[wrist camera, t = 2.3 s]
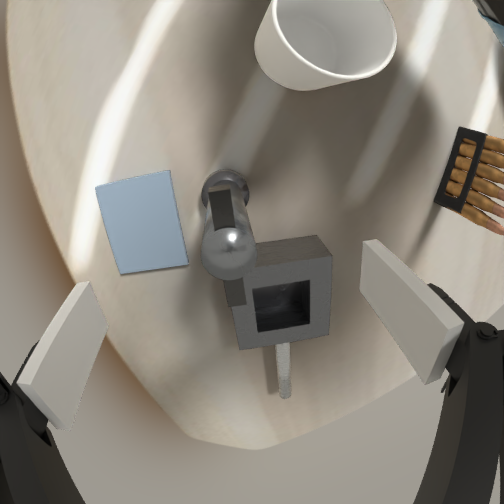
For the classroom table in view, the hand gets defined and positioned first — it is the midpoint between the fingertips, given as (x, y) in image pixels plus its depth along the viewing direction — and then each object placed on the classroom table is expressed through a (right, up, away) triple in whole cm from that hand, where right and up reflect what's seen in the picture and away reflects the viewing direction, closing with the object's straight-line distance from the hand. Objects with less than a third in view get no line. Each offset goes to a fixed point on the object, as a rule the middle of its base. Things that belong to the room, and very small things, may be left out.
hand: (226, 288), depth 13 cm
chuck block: (+4, -7, +23) cm, 24 cm away
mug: (+6, +22, +9) cm, 25 cm away
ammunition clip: (+26, +12, +16) cm, 33 cm away
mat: (-10, +4, +15) cm, 19 cm away
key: (-1, +7, +15) cm, 17 cm away
